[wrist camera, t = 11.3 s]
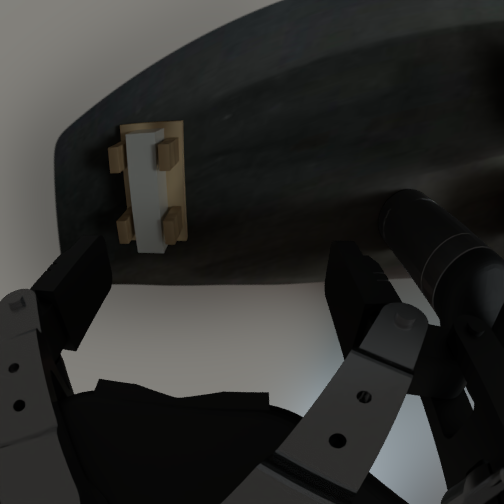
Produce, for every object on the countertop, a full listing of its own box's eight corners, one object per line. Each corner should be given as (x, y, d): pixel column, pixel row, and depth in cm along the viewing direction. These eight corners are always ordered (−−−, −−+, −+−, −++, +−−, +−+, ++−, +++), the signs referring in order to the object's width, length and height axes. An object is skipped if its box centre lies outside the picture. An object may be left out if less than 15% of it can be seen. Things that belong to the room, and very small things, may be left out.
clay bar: (163, 128, 36) (154, 132, 32) (170, 238, 43) (164, 253, 39) (137, 129, 36) (125, 134, 32) (146, 238, 43) (138, 252, 39)
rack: (183, 120, 36) (171, 125, 31) (187, 237, 44) (179, 259, 39) (122, 124, 36) (103, 131, 31) (133, 236, 44) (119, 257, 39)
